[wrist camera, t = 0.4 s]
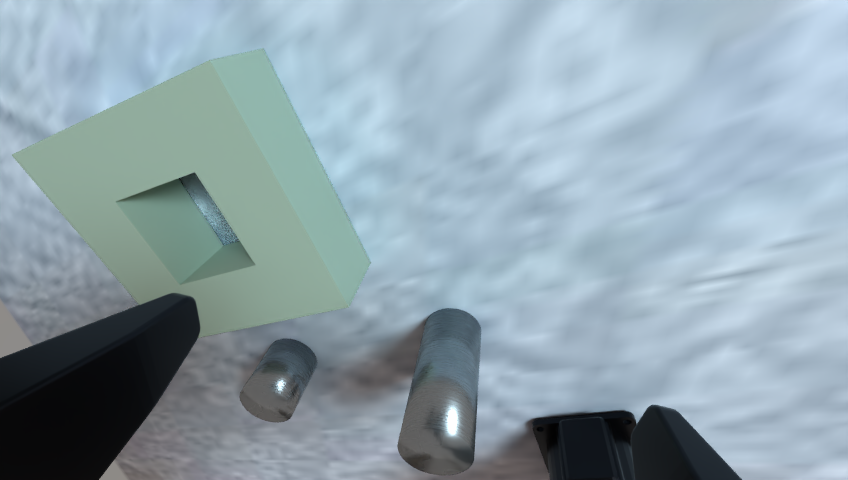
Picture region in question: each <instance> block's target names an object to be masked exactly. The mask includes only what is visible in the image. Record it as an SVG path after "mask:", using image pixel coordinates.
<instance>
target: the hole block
mask: <svg viewBox="0 0 848 480" xmlns="http://www.w3.org/2000/svg"><path fill="white" fill-rule="evenodd" d="M12 156H13V157H14V159H15V160H16V161H17V162H18V163H19V164H20V166H21V167H22V168H23V169H24V170H25V171H26V173H27V174H28V175H29V176H30V177H31V178H32V180H33V181H34V182H35V183H36V184H37V186H38V187H39V188H40V189H41V190H42V191H43V193H44V194H45V195H46V196H47V197H48V198H49V200H50V201H51V202H52V203H53V204H54V205H55V207H56V208H57V209H58V210H59V211H60V213H61V214H62V215H63V216H64V217H65V218H66V220H67V221H68V222H69V223H70V224H71V225H72V227H73V228H74V229H75V230H76V231H77V232H78V234H79V235H80V236H81V237H82V238H83V240H84V241H85V242H86V243H87V244H88V245H89V247H90V248H91V249H92V250H93V251H94V252H95V254H96V255H97V256H98V257H99V258H100V259H101V261H102V262H103V263H104V264H105V265H106V267H107V268H108V269H109V270H110V271H111V272H112V274H113V275H114V276H115V277H116V278H117V279H118V281H119V282H120V283H121V284H122V285H123V286H124V288H125V289H126V290H127V291H128V292H129V293H130V295H131V296H132V297H133V298H134V299H135V301H136V302H137V303H138V304H139V305H141V304H143V303H146V302H148V301H151V300H154V299H156V298H159V297H162V296H164V295H167V294H170V293H179V294H184V295H188V296H191V297H193V298H194V299H195V300H196V304H197V309H198V315H199V320H200V326H201V328H200V334H199V336H198V338H201V337H206V336H210V335H215V334H220V333H225V332H230V331H235V330H240V329H245V328H250V327H255V326H260V325H265V324H269V323H274V322H279V321H284V320H289V319H294V318H299V317H304V316H309V315H314V314H319V313H324V312H329V311H333V310H338V309H343V308H348V307H349V306H350V304H351V302H352V300H353V298H354V296H355V294H356V292H357V290H358V288H359V286H360V284H361V282H362V280H363V278H364V276H365V274H366V272H367V269H368V267H369V265H370V263H371V262H370V260H369V258H368V256H367V254H366V252H365V250H364V248H363V246H362V244H361V242H360V240H359V238H358V236H357V234H356V232H355V230H354V228H353V226H352V224H351V222H350V220H349V218H348V216H347V214H346V212H345V210H344V208H343V206H342V204H341V202H340V200H339V198H338V196H337V194H336V192H335V190H334V188H333V186H332V184H331V182H330V180H329V178H328V176H327V174H326V172H325V170H324V168H323V166H322V164H321V162H320V161H319V159H318V157H317V155H316V153H315V151H314V149H313V147H312V145H311V143H310V141H309V139H308V137H307V135H306V133H305V131H304V129H303V127H302V125H301V123H300V121H299V119H298V117H297V115H296V113H295V111H294V109H293V107H292V105H291V103H290V101H289V99H288V97H287V95H286V93H285V91H284V89H283V87H282V85H281V83H280V81H279V79H278V77H277V75H276V73H275V71H274V69H273V67H272V65H271V63H270V61H269V59H268V57H267V55H266V53H265V51H264V49H258V50H254V51H249V52H245V53H240V54H235V55H231V56H226V57H222V58H217V59H213V60H209V61H207V62H205V63H203V64H201V65H199V66H196V67H194V68H192V69H190V70H188V71H186V72H184V73H182V74H180V75H178V76H176V77H173V78H171V79H169V80H167V81H165V82H163V83H161V84H159V85H157V86H155V87H153V88H150V89H148V90H146V91H144V92H142V93H140V94H138V95H136V96H134V97H132V98H129V99H127V100H125V101H123V102H121V103H119V104H117V105H115V106H113V107H111V108H109V109H106V110H104V111H102V112H100V113H98V114H96V115H94V116H92V117H90V118H88V119H86V120H83V121H81V122H79V123H77V124H75V125H73V126H71V127H69V128H67V129H65V130H63V131H60V132H58V133H56V134H54V135H52V136H50V137H48V138H46V139H44V140H42V141H40V142H37V143H35V144H33V145H31V146H29V147H27V148H25V149H23V150H21V151H19V152H17V153H14V154H12ZM194 172H195V173H196V175H197V176H198V178H199V179H200V181H201V182H202V184H203V185H204V187H205V188H206V190H207V192H208V193H209V195H210V196H211V198H212V199H213V201H214V202H215V204H216V205H217V207H218V208H219V210H220V211H221V213H222V214H223V216H224V218H225V219H226V221H227V222H228V224H229V225H230V227H231V228H232V230H233V231H234V233H235V234H236V236H237V237H238V239H239V240H240V241H238V242H234V243H231V244H227V245H223V244H222V242H221V241H220V239H219V238H218V236H217V235H216V233H215V232H214V230H213V229H212V228H211V226H210V225H209V223H208V222H207V220H206V219H205V217H204V216H203V214H202V213H201V211H200V210H199V208H198V207H197V205H196V204H195V203H194V201H193V200H192V198H191V197H190V195H189V194H188V192H187V191H186V189H185V188H184V186H183V185H182V183H181V182H180V180H179V179H178V178H181V177H183V176H186V175H189V174H191V173H194Z"/></svg>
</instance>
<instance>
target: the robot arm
mask: <svg viewBox="0 0 848 480" xmlns="http://www.w3.org/2000/svg"><path fill="white" fill-rule="evenodd" d="M200 328H201V326H200V320H199V315H198V309H197V304H196V300H195V299H194V298H193V297H191V296H188V295H184V294H179V293H170V294H167V295H164V296H162V297H159V298H156V299H154V300H151V301H148V302H146V303H143V304H141V305H138V306H135V307H133V308H130V309H128V310H125V311H122V312H120V313H117V314H114V315H112V316H109V317H107V318H104V319H101V320H99V321H96V322H94V323H91V324H88V325H86V326H83V327H80V328H78V329H75V330H73V331H70V332H67V333H65V334H62V335H59V336H57V337H54V338H52V339H49V340H46V341H44V342H41V343H39V344H36V345H33V346H31V347H28V348H25V349H23V350H20V351H18V352H15V353H13V354H10V355H7V356H4V357H2V358H0V480H99V479H100V478H101V476H102V475H103V474H104V472H105V471H106V470H107V468H108V467H109V466H110V464H111V463H112V462H113V461H114V459H115V458H116V457H117V455H118V454H119V453H120V451H121V450H122V449H123V448H124V446H125V445H126V444H127V442H128V441H129V440H130V438H131V437H132V436H133V435H134V433H135V432H136V431H137V429H138V428H139V427H140V425H141V424H142V423H143V421H144V420H145V419H146V418H147V416H148V415H149V413H150V412H151V411H152V409H153V408H154V407H155V405H156V404H157V402H158V401H159V399H160V398H161V396H162V395H163V393H164V392H165V390H166V388H167V387H168V385H169V383H170V382H171V380H172V379H173V377H174V375H175V374H176V372H177V371H178V369H179V367H180V366H181V364H182V363H183V361H184V359H185V358H186V356H187V355H188V353H189V351H190V350H191V348H192V347H193V345H194V343H195V342H196V340H197V338H198V336H199V334H200ZM532 424H533V431H534V434H535V437H536V440H537V442H538V445H539V448H540V450H541V453H542V456H543V458H544V461H545V464H546V467H547V469H548V472H549V477H550V480H742V479H741V478H740V477H739V476H738V475H737V474H736V473H735V472H734V471H733V470H732V468H731V467H730V466H729V465H728V464H727V463H726V462H725V461H724V460H723V459H722V458H721V457H720V456H719V455H718V454H717V453H716V451H715V450H714V449H713V448H712V447H711V446H710V445H709V444H708V443H707V442H706V441H705V440H704V439H703V438H702V437H701V436H700V434H699V433H698V432H697V431H696V430H695V429H694V428H693V427H692V426H691V425H690V424H689V423H688V422H687V421H686V420H685V419H684V417H683V416H682V415H681V414H680V413H679V412H677V411H676V410H674V409H671V408H667V407H663V406H659V405H651V406H649V407H648V408H647V410H646V411H645V413H644V414H643V416H642V417H641V419H640V420H639V422H638V423H637V425H636V420H635V417H634V415H633V414H632V413H631V412H615V413H604V414H593V415H582V416H571V417H560V418H548V419H538V420H535V421H533V423H532Z"/></svg>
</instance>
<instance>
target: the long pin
mask: <svg viewBox="0 0 848 480" xmlns="http://www.w3.org/2000/svg"><path fill="white" fill-rule="evenodd" d="M480 345H481V327H480V325H479V323H478V321H477V320H476V319H475V318H474V317H473V316H472V315H470V314H469V313H467V312H465V311H462V310H459V309H442V310H438V311H436V312H434V313H433V314H431V315H430V316H429V317H428V319H427V321H426V323H425V328H424V332H423V336H422V341H421V345H420V349H419V354H418V358H417V362H416V367H415V371H414V375H413V380H412V384H411V389H410V393H409V397H408V402H407V406H406V410H405V415H404V419H403V423H402V428H401V432H400V436H399V441H398V451H399V453H400V455H401V457H402V458H403V459H404V460H405V461H406V462H407V463H408V464H410V465H411V466H413V467H414V468H416V469H418V470H421V471H423V472H427V473H430V474H435V475H454V474H458V473H461V472H464V471H465V470H467V469H468V468H469V467H470V466H471V465H472V463H473V461H474V450H475V432H476V415H477V397H478V380H479V362H480Z"/></svg>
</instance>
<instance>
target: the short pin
mask: <svg viewBox="0 0 848 480" xmlns="http://www.w3.org/2000/svg"><path fill="white" fill-rule="evenodd" d="M316 366H317V358H316V356H315V354H314V353H313V351H312V350H311V349H310V348H309V347H308V346H306V345H305V344H303V343H301V342H299V341H296V340H293V339H280V340H277V341H275V342H274V343H273V344H272V345H271V347H270V348H269V350H268V351H267V353H266V354H265V356H264V357H263V359H262V360H261V362H260V363H259V365H258V366H257V368H256V369H255V371H254V372H253V374H252V376H251V377H250V379H249V380H248V382H247V383H246V385H245V386H244V388H243V389H242V391H241V393H240V401H241V403H242V405H243V406H244V407H245V409H246V410H247V411H249V412H250V413H251V414H253V415H254V416H256V417H258V418H260V419H262V420H265V421H269V422H284V421H287V420H288V419H290V418H291V416H292V414H293V412H294V410H295V408H296V406H297V404H298V402H299V400H300V398H301V396H302V394H303V392H304V390H305V388H306V386H307V384H308V382H309V380H310V378H311V376H312V374H313V372H314V370H315V368H316Z"/></svg>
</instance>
